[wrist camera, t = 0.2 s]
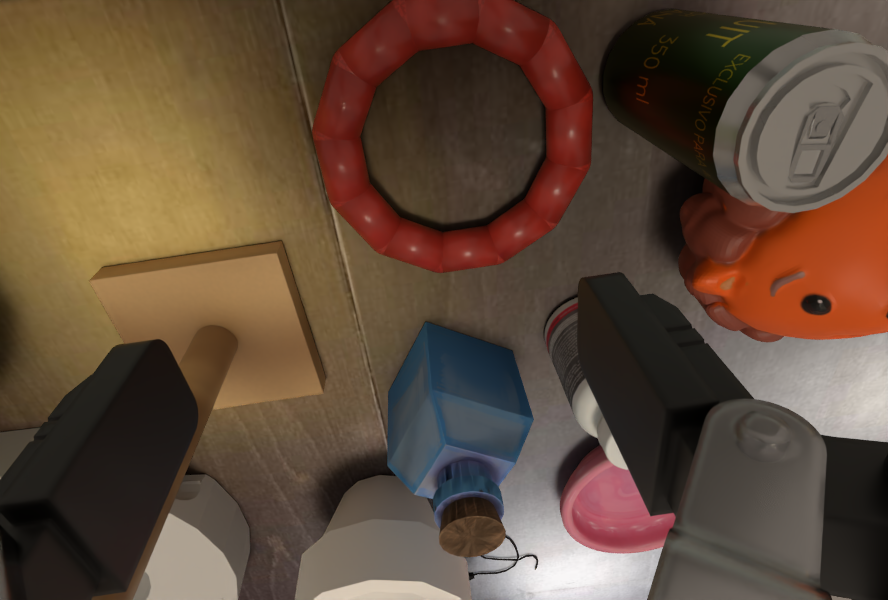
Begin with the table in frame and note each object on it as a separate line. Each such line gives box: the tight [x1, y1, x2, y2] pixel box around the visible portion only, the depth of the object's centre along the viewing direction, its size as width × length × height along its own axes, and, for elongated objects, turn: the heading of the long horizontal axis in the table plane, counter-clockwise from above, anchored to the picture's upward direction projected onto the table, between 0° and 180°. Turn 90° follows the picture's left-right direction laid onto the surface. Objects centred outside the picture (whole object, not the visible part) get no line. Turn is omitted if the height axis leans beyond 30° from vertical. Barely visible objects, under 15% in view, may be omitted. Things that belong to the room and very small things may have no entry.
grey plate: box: [0, 428, 250, 600], centre depth 39 cm, size 23×23×4 cm
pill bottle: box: [544, 297, 628, 470], centre depth 29 cm, size 5×5×10 cm
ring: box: [312, 0, 593, 273], centre depth 26 cm, size 13×13×2 cm
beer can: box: [603, 9, 888, 213], centre depth 20 cm, size 5×5×12 cm
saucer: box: [560, 445, 676, 553], centre depth 40 cm, size 12×12×3 cm
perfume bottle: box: [387, 322, 534, 557], centre depth 30 cm, size 6×6×12 cm
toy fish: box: [678, 155, 888, 342], centre depth 24 cm, size 12×10×11 cm
